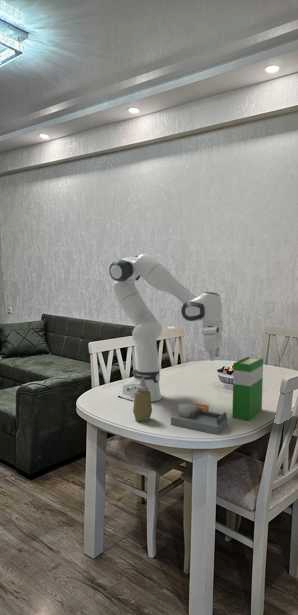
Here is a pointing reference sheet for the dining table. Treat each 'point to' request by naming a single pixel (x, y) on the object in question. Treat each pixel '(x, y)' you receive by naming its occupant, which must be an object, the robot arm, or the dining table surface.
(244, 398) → the hardback book
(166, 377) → the dining table surface
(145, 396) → the squeeze bottle
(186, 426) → the panel with grey ball
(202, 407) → the chute
